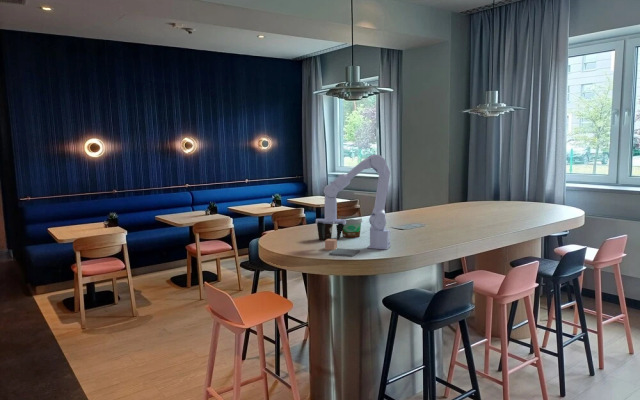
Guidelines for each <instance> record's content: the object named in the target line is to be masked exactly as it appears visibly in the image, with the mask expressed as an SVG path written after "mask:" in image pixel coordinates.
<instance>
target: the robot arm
mask: <svg viewBox="0 0 640 400" xmlns="http://www.w3.org/2000/svg"><path fill="white" fill-rule="evenodd" d="M369 169H373V170H374V172H375V173H377V175H378V179H377V185H376V193H375V199H374V200H375V201H374V207H373V209H372V211H371V212H372V213H371V215H370V217H369V218H368V222H369V224H370V227H369V246H366V247H367V249H375V250H376V249H377V250H388V249H389V248H390V247H391V230H390V229H386V225H387V221H386V210H385V209H386V202H387V196H388V189H389V183H390V176H391V172H390V169H389V166H388V165H387V161H386V159H385V158H384V157H383V156H382V155H381V154H371V155H369V156H368V157H366V158H364V159H362V160H361V161H360V162H359V163H358V164H356V165H355V166H354V167H353V168H352V169H351V170H350V171H348V172H347V173H342V174H337V178H335V179H334V180H332V181H330V182H329V184H327V185H326V186H324V189H323V193H324V218H316V219H315V224H316V227H318V228H319V230H320V233H321V237H322V239H324V238H325V223H327V224H333V225H336V226H335V227H336V239H337V241H338V240H340V239H341V236H342V229H343V227H344V225H345V224H346V220H347V219H346V220H341V218H340V219H338V212H337V211H338V205H337V204H338V202H337V196H338V193H340V192H341V191H342V190H344V189H346V187H347V186H349V185H350V184H351V180H352V179H354V177H356V176H357V175H359V174H360V173H362V172H363V171H364V170H369ZM332 222H333V223H332ZM317 223H318V224H317ZM318 228H317V229H318Z"/></svg>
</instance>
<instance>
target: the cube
mask: <svg viewBox="0 0 640 400" xmlns="http://www.w3.org/2000/svg"><path fill="white" fill-rule="evenodd" d="M336 248H338V240H337V238H336V239H335V238H331V239H327V240H325V241H324V250H326V251H330V250H331V251H333V250H335V249H336Z"/></svg>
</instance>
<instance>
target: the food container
mask: <svg viewBox="0 0 640 400" xmlns="http://www.w3.org/2000/svg"><path fill="white" fill-rule="evenodd" d="M340 220H346V224H345V225H344V227H343V229H342V232H341V236H342V238H344V239H357V238H360V237H361V227H362V223H363V219H362V218H357V219H354V218H350V219H346V218H345V219H344V218H340Z"/></svg>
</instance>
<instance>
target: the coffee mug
mask: <svg viewBox="0 0 640 400" xmlns="http://www.w3.org/2000/svg"><path fill="white" fill-rule="evenodd" d="M332 223H334V222H332ZM317 224H318V223H316V225H317ZM333 225H334V224H327V223H325V238H324V239H322V237H321V233H320V230H319V228H318V227H317V226H316V227H317V235H318V241H323V242H325V240H327V239H332V235H333Z"/></svg>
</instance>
